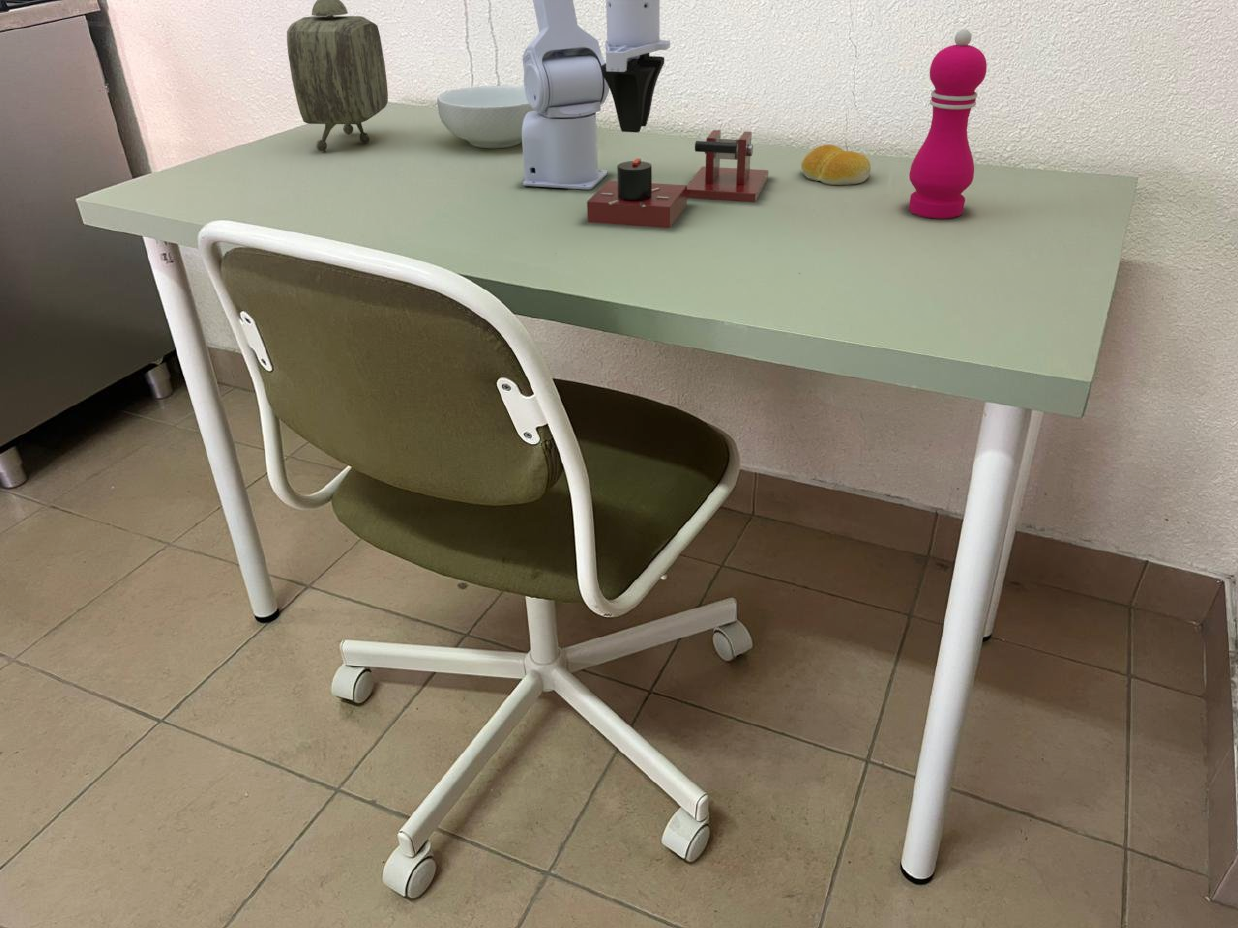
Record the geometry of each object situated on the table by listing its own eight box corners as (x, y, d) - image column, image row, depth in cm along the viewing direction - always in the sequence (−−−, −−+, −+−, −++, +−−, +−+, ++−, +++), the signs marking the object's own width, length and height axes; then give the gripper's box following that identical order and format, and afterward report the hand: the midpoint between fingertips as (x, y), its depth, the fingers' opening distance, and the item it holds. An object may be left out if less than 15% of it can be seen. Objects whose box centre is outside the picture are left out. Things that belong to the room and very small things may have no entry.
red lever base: (755, 203, 118) (758, 147, 115) (684, 198, 121) (685, 143, 117) (767, 179, 127) (771, 126, 124) (701, 175, 129) (703, 123, 126)
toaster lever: (735, 159, 112) (737, 137, 111) (693, 156, 113) (695, 135, 113) (749, 160, 122) (750, 140, 122) (710, 158, 124) (712, 138, 123)
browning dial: (647, 202, 111) (647, 168, 109) (613, 200, 112) (613, 166, 110) (655, 192, 114) (655, 159, 112) (622, 190, 115) (622, 157, 113)
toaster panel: (585, 225, 112) (585, 201, 111) (609, 201, 120) (608, 179, 119) (668, 231, 110) (668, 207, 109) (686, 206, 118) (687, 183, 116)
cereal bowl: (546, 155, 140) (543, 105, 136) (433, 157, 140) (427, 107, 136) (554, 128, 154) (552, 82, 150) (452, 130, 155) (447, 84, 151)
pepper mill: (968, 204, 116) (999, 25, 106) (966, 222, 111) (999, 35, 100) (907, 200, 118) (932, 24, 108) (901, 217, 113) (927, 33, 102)
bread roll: (844, 191, 122) (847, 159, 120) (790, 177, 128) (793, 146, 126) (883, 178, 127) (887, 147, 124) (830, 165, 132) (832, 136, 130)
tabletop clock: (343, 132, 155) (314, -42, 142) (396, 132, 154) (372, -42, 141) (306, 154, 143) (271, -33, 130) (364, 155, 142) (334, -34, 128)
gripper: (652, 5, 95) (652, 145, 102) (684, -11, 106) (682, 116, 114) (584, 4, 96) (589, 142, 104) (623, -12, 108) (625, 113, 115)
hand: (634, 128), depth 109 cm, fingers closed
